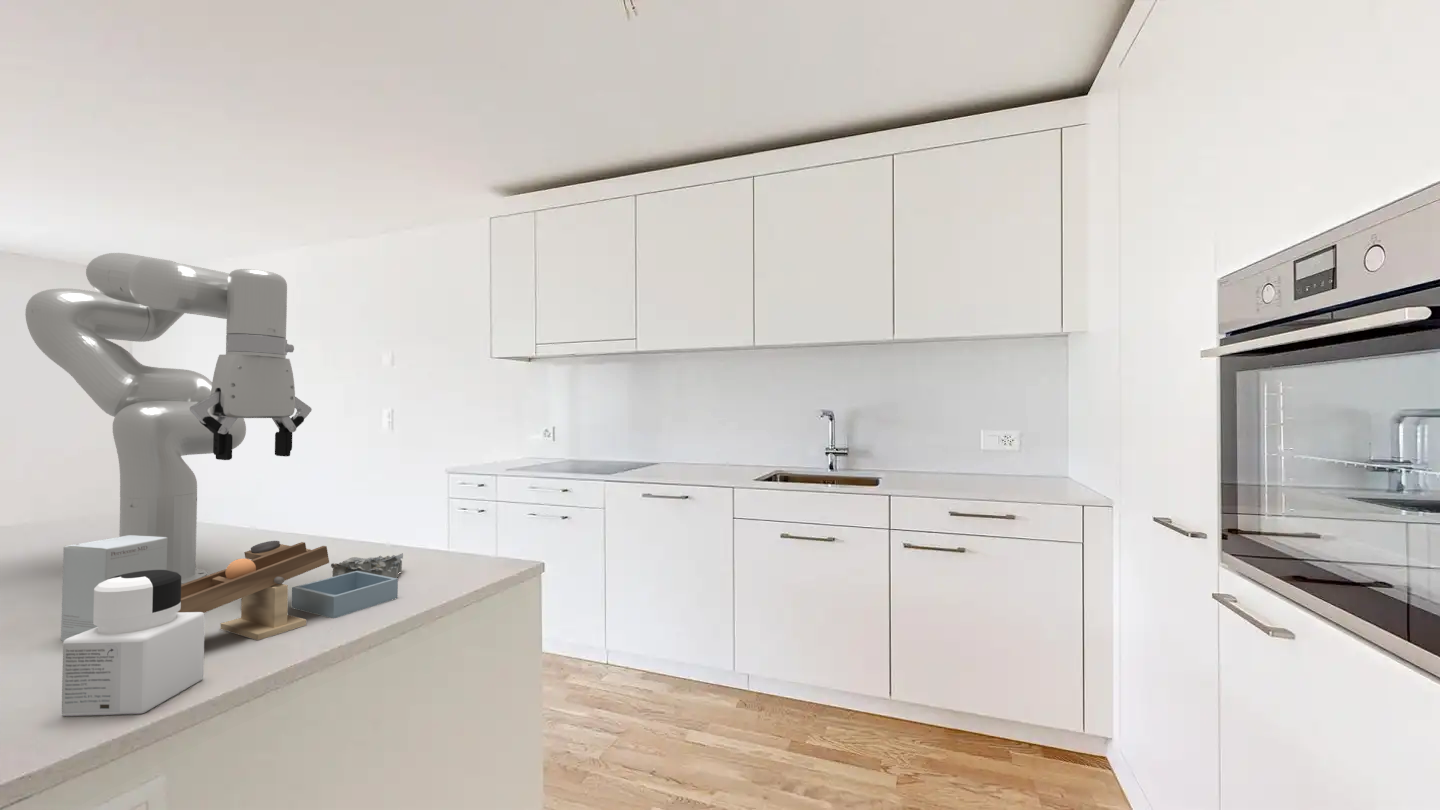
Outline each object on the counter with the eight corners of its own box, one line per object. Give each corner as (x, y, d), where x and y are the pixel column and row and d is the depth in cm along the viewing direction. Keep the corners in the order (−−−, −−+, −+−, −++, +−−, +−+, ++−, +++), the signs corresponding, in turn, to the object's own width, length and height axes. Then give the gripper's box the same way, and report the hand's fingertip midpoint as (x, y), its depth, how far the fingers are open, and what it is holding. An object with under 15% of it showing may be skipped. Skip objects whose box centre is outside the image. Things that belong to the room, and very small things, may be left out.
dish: (291, 610, 89) (291, 587, 89) (356, 591, 98) (357, 570, 98) (333, 620, 85) (333, 596, 85) (397, 600, 94) (397, 578, 94)
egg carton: (326, 587, 100) (326, 564, 100) (342, 575, 107) (342, 553, 107) (395, 583, 103) (395, 560, 103) (406, 571, 110) (406, 549, 110)
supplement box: (102, 647, 74) (104, 548, 74) (58, 642, 75) (60, 545, 75) (167, 626, 81) (169, 536, 81) (127, 622, 82) (128, 533, 82)
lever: (94, 610, 75) (90, 592, 74) (273, 548, 93) (270, 533, 93) (160, 632, 68) (155, 612, 67) (339, 560, 87) (336, 544, 86)
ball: (221, 584, 78) (218, 561, 77) (249, 576, 81) (246, 554, 80) (234, 588, 76) (232, 564, 76) (262, 579, 79) (259, 556, 79)
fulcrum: (220, 629, 80) (221, 584, 80) (269, 615, 85) (269, 573, 85) (257, 640, 76) (258, 593, 76) (306, 625, 82) (306, 581, 82)
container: (131, 681, 65) (134, 565, 65) (205, 679, 65) (207, 564, 65) (58, 717, 57) (61, 586, 57) (143, 715, 58) (145, 585, 58)
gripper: (300, 354, 102) (298, 453, 102) (175, 343, 86) (173, 460, 86) (327, 352, 99) (324, 455, 99) (202, 341, 83) (199, 463, 83)
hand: (254, 457), depth 93 cm, fingers open, 7 cm apart
